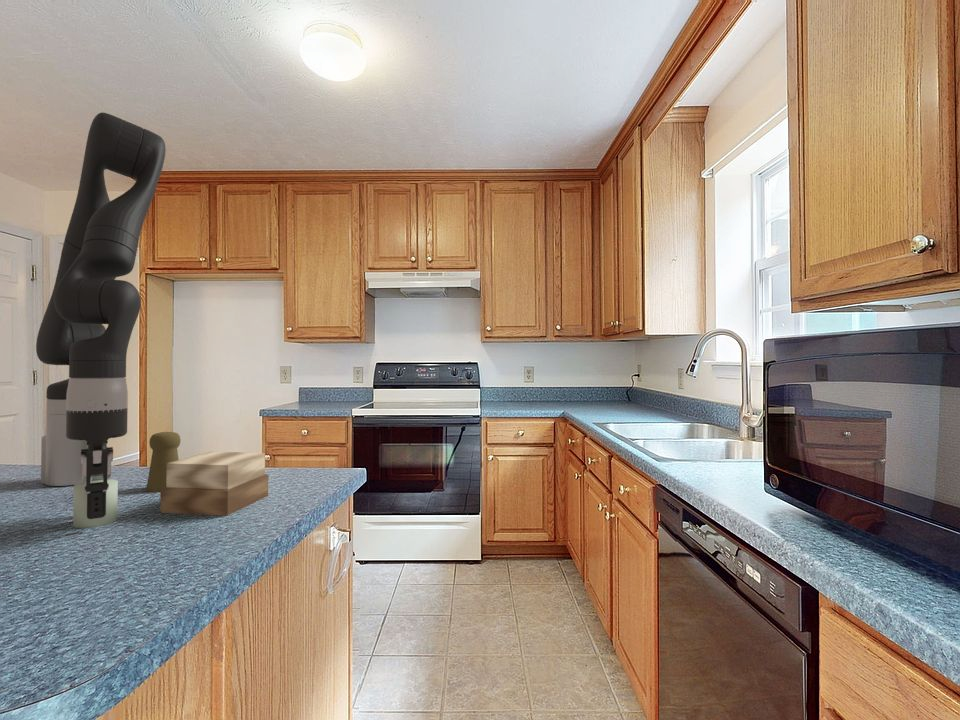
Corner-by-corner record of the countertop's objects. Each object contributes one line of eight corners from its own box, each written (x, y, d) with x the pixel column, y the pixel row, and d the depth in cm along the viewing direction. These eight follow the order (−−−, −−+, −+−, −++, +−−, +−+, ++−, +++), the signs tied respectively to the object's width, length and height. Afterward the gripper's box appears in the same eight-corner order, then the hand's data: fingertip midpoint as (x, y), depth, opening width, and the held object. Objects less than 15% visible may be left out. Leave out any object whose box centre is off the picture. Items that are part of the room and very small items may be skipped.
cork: (149, 485, 97) (150, 431, 98) (184, 483, 100) (185, 429, 100) (143, 493, 92) (143, 435, 92) (180, 490, 94) (181, 433, 95)
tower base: (160, 515, 81) (160, 488, 81) (208, 495, 92) (209, 472, 93) (227, 518, 79) (227, 490, 79) (268, 498, 91) (268, 474, 91)
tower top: (166, 487, 81) (166, 463, 81) (210, 472, 92) (210, 451, 92) (227, 489, 80) (228, 465, 80) (264, 474, 91) (265, 453, 91)
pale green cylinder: (63, 526, 73) (64, 487, 73) (95, 515, 79) (96, 478, 79) (95, 528, 73) (96, 488, 73) (126, 517, 78) (126, 480, 78)
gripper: (129, 409, 72) (128, 518, 72) (125, 402, 84) (124, 497, 83) (63, 411, 68) (62, 528, 68) (68, 404, 79) (67, 504, 79)
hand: (96, 510), depth 76 cm, fingers open, 8 cm apart
